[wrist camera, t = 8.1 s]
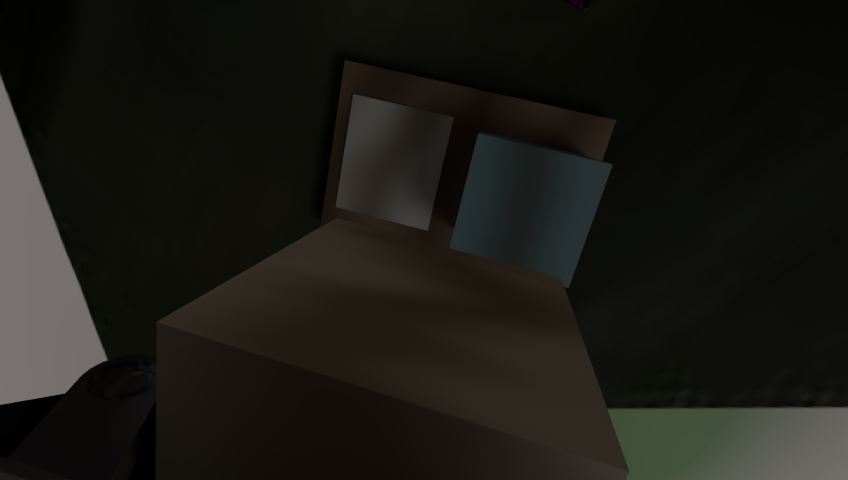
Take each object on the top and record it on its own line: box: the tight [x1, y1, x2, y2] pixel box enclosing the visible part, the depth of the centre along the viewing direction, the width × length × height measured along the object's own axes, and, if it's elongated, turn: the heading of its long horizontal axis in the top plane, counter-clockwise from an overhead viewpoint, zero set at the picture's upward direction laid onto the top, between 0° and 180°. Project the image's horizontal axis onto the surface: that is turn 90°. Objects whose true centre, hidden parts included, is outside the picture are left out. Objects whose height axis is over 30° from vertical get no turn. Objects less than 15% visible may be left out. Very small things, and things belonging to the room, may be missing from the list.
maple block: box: [155, 218, 629, 480], centre depth 9 cm, size 6×6×6 cm
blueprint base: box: [320, 60, 616, 288], centre depth 26 cm, size 18×12×8 cm, turn 77°
